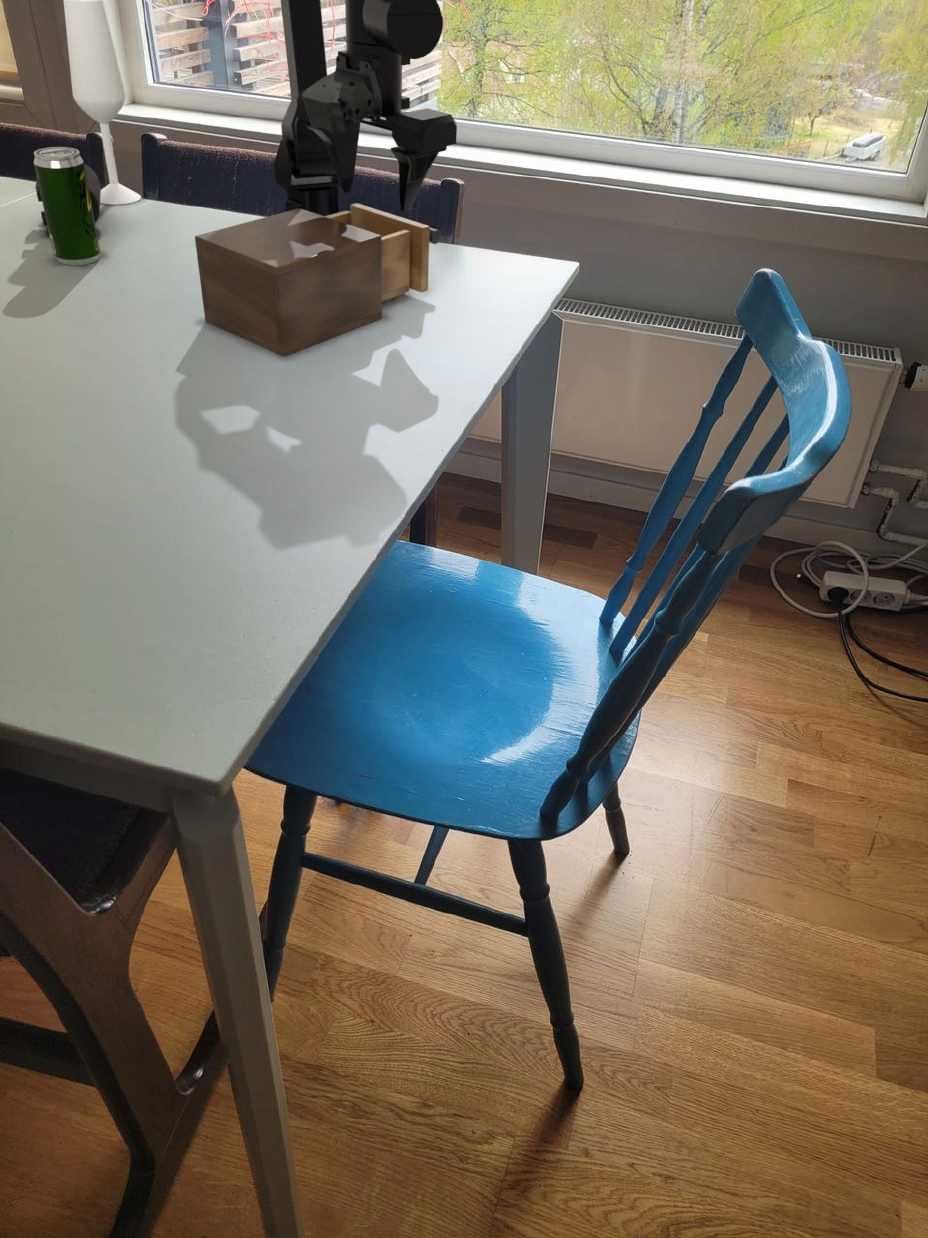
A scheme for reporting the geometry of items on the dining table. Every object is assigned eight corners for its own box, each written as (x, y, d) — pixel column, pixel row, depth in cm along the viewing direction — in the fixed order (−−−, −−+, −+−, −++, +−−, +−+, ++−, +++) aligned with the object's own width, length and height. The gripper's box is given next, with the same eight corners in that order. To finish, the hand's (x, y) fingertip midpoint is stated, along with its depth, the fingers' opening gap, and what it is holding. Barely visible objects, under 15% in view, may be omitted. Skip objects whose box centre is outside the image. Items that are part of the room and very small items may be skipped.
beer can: (62, 268, 114) (38, 160, 107) (49, 254, 118) (26, 148, 110) (107, 262, 117) (87, 155, 109) (93, 248, 120) (73, 144, 112)
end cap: (104, 236, 124) (94, 180, 120) (46, 238, 122) (33, 181, 118) (105, 212, 131) (95, 159, 127) (50, 214, 129) (38, 160, 125)
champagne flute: (124, 206, 134) (90, 3, 118) (82, 200, 135) (43, -2, 120) (150, 194, 139) (121, -3, 123) (109, 188, 140) (75, -8, 125)
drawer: (384, 256, 121) (383, 195, 116) (453, 280, 115) (456, 217, 111) (274, 292, 109) (269, 226, 105) (346, 321, 104) (344, 252, 99)
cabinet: (304, 288, 113) (299, 207, 108) (382, 318, 107) (381, 235, 102) (205, 321, 104) (194, 235, 99) (284, 356, 98) (277, 267, 93)
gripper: (252, 33, 97) (264, 195, 107) (385, 63, 88) (385, 237, 98) (332, 25, 104) (337, 178, 114) (463, 52, 95) (456, 215, 105)
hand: (375, 201), depth 107 cm, fingers open, 9 cm apart
